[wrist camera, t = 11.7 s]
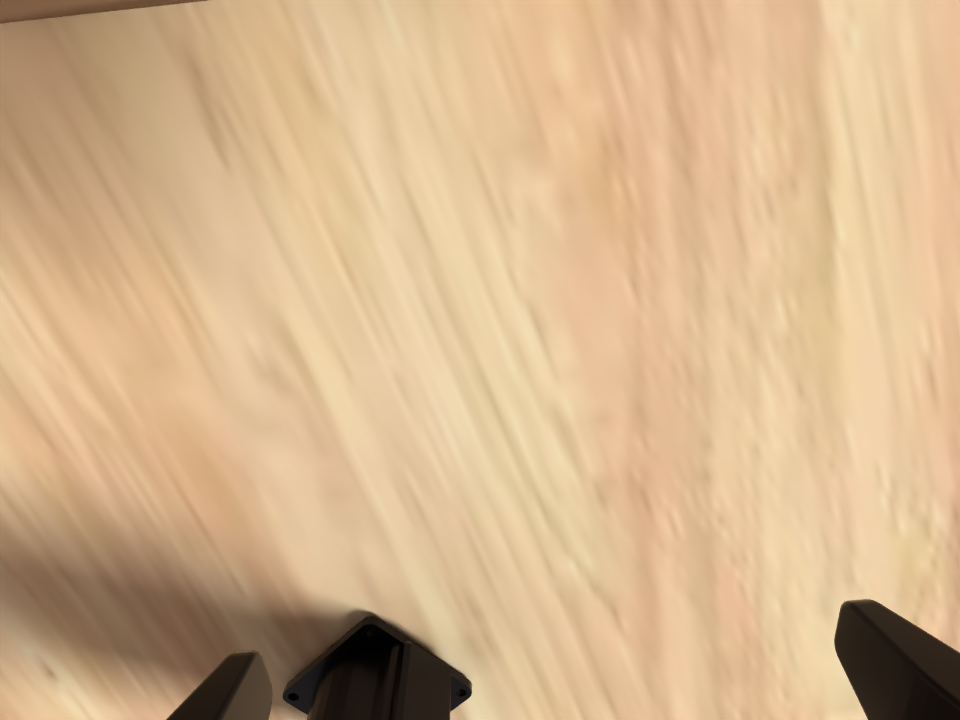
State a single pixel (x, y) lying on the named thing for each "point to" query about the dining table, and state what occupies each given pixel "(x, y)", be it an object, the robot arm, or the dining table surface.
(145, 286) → the dining table surface
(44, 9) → the holder box
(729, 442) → the dining table surface
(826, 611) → the dining table surface
